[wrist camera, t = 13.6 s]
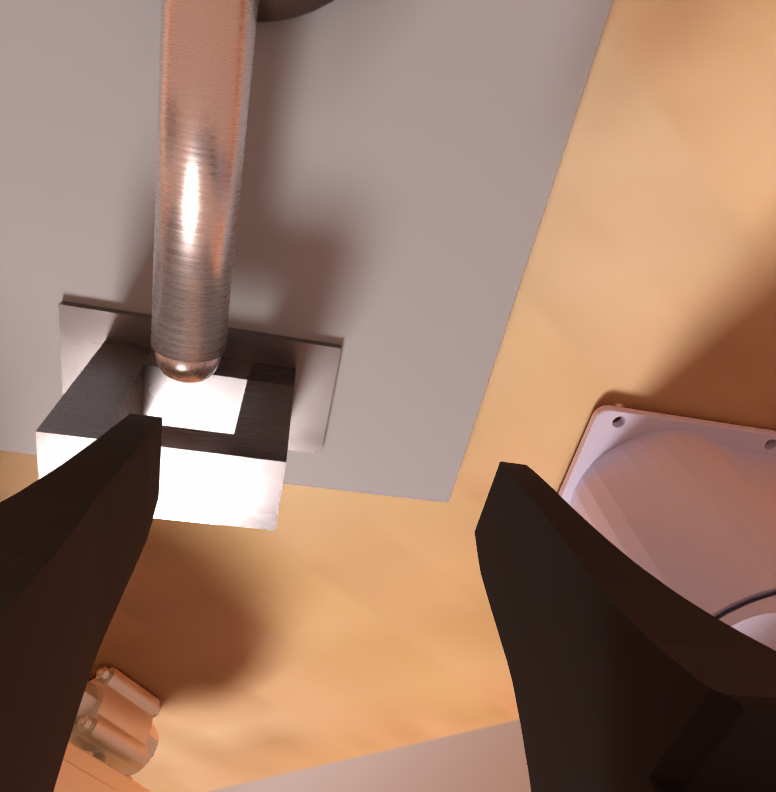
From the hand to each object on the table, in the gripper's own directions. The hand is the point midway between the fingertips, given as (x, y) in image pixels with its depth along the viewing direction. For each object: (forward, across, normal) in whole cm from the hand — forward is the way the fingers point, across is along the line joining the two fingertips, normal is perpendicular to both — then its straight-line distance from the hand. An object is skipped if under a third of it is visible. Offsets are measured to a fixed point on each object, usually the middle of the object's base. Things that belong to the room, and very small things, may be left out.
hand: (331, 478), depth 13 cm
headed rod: (+7, +4, -6) cm, 10 cm away
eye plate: (+9, +4, +3) cm, 10 cm away
